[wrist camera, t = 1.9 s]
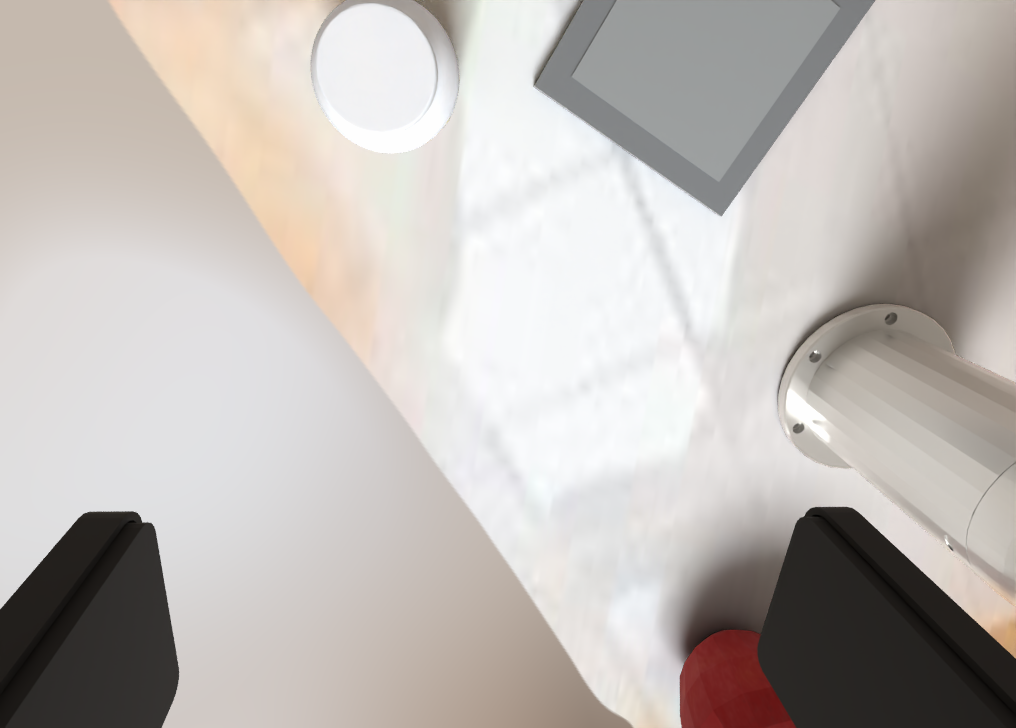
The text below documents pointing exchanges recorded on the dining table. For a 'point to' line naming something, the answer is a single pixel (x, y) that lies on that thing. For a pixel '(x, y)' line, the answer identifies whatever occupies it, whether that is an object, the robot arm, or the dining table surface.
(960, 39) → the dining table surface
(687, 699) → the apple
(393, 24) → the pill bottle
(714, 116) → the coaster
